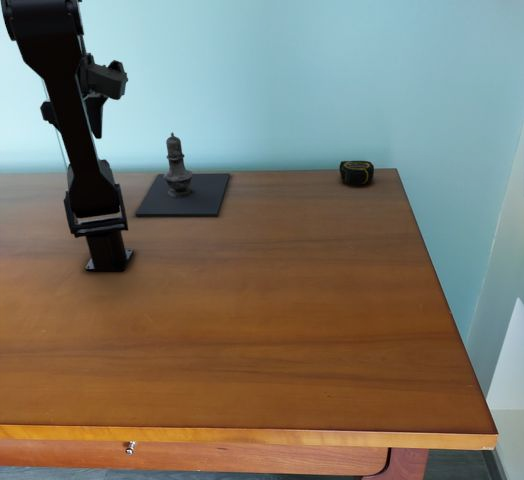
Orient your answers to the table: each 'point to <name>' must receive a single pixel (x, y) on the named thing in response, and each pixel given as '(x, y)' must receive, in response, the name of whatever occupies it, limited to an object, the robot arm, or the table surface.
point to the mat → (186, 198)
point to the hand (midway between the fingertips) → (91, 147)
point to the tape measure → (356, 172)
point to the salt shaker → (177, 170)
